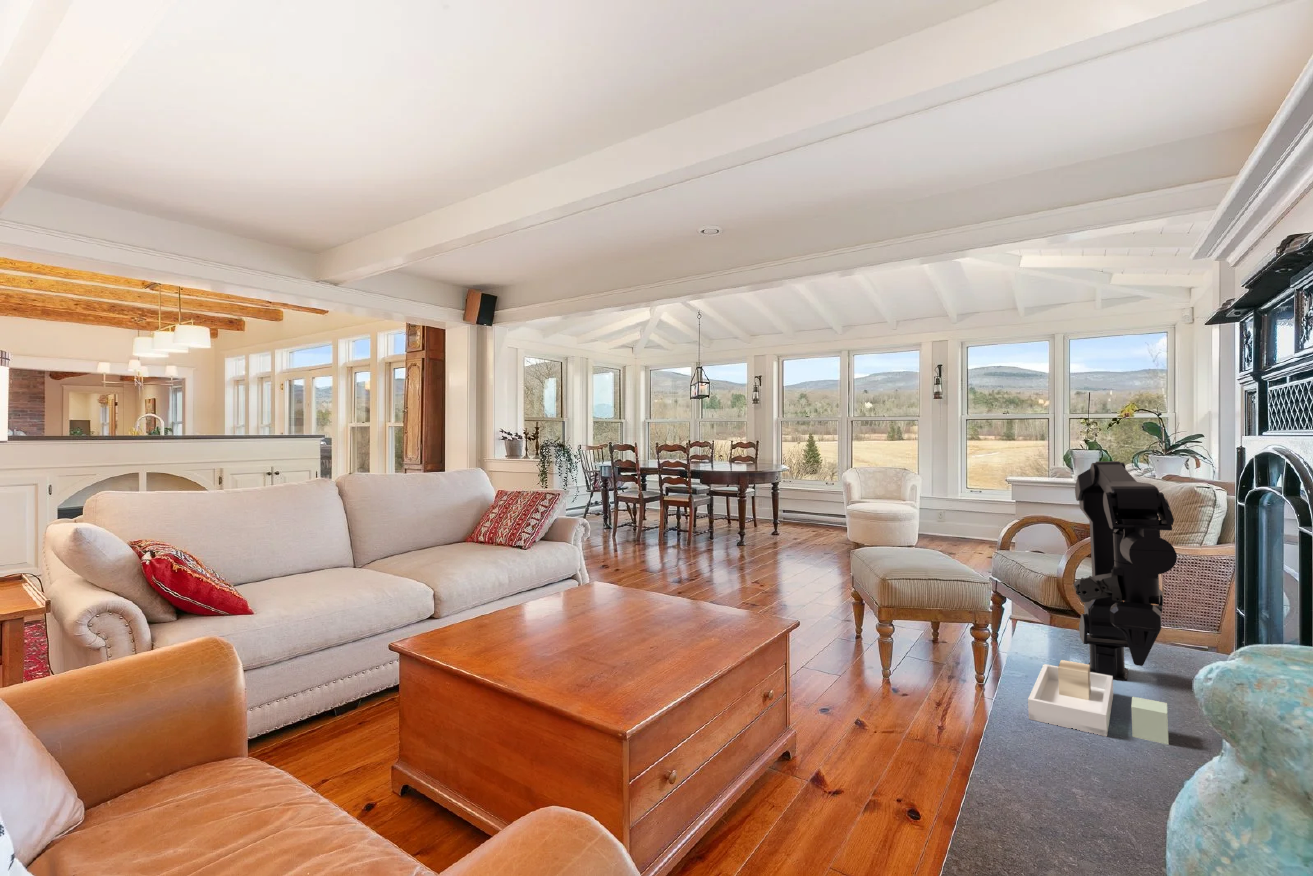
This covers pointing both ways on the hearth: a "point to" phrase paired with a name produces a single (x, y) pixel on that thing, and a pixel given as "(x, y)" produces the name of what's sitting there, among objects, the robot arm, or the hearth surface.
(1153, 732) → the green block
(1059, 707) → the tray
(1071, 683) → the birch block
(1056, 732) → the hearth surface
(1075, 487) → the robot arm
